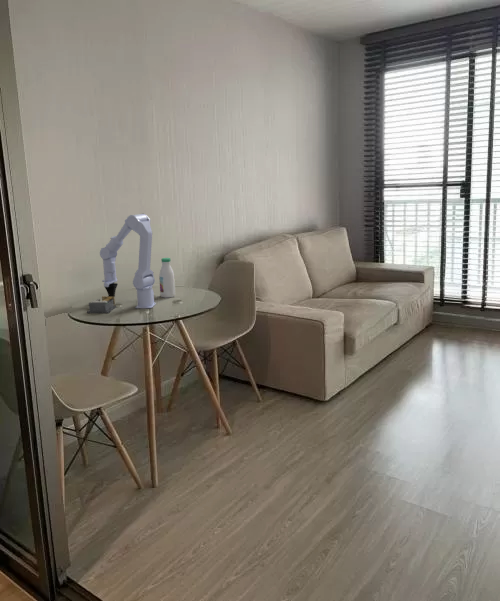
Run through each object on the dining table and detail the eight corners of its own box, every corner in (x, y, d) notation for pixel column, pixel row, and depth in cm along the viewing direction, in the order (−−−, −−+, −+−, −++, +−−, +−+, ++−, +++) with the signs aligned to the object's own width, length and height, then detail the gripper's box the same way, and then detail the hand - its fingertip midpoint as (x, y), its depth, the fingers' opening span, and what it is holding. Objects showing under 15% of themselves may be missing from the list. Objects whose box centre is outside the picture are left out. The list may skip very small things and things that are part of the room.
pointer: (93, 308, 254) (92, 300, 253) (108, 308, 254) (107, 300, 253) (91, 309, 252) (90, 301, 251) (106, 309, 252) (106, 301, 251)
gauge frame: (95, 307, 262) (95, 297, 260) (116, 307, 261) (115, 297, 260) (87, 313, 250) (86, 302, 249) (108, 313, 250) (107, 302, 248)
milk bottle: (176, 294, 285) (175, 257, 281) (173, 298, 278) (171, 259, 273) (162, 294, 286) (160, 257, 281) (158, 297, 279) (156, 259, 274)
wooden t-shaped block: (103, 303, 266) (102, 296, 265) (115, 303, 265) (114, 296, 264) (96, 308, 256) (95, 300, 256) (108, 308, 256) (108, 300, 255)
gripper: (106, 268, 274) (108, 295, 277) (96, 274, 260) (99, 301, 263) (120, 268, 273) (122, 295, 277) (111, 274, 259) (113, 301, 263)
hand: (111, 298), depth 270 cm, fingers closed
